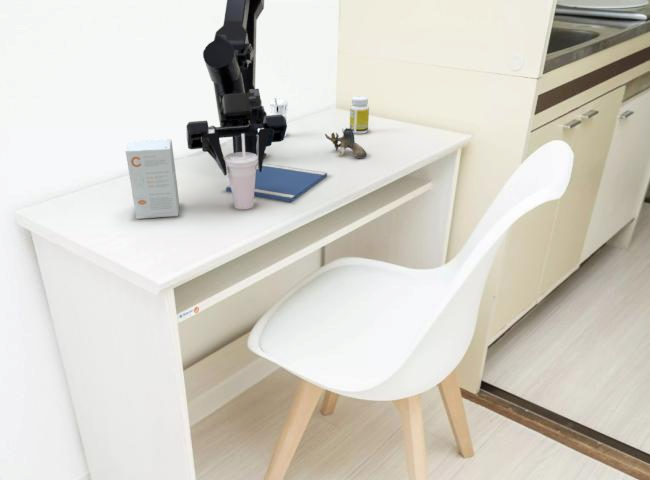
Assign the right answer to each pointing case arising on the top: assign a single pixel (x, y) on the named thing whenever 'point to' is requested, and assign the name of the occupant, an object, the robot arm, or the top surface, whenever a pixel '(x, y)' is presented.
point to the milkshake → (279, 107)
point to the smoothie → (242, 176)
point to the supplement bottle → (359, 115)
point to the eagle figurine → (347, 143)
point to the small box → (153, 178)
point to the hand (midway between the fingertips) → (243, 172)
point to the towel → (283, 182)
